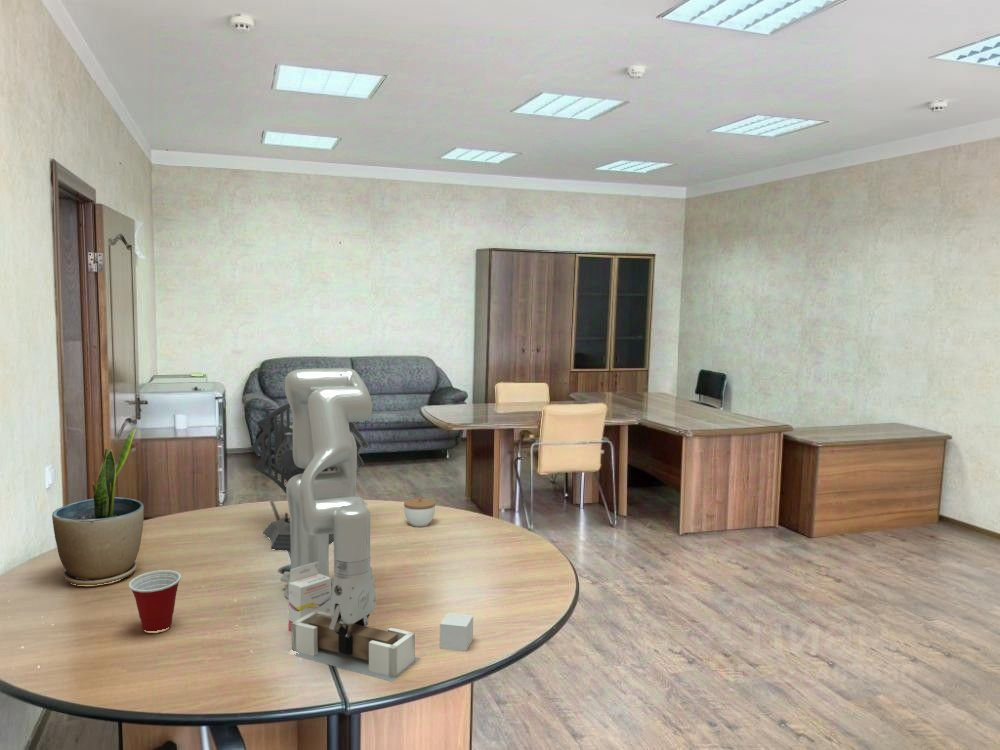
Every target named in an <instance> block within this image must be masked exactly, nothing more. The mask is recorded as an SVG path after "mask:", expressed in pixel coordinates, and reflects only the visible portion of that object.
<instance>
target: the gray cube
mask: <svg viewBox="0 0 1000 750" xmlns="http://www.w3.org/2000/svg"><path fill="white" fill-rule="evenodd" d="M473 640H474V615H472V614H471V615H470V614H461V613H454V612H453V613H452V612H447V613H446V614H445V616H444V618H442V620H441V622H440V623H439V649H444V650H451V651H453V650H454V651H463V652H467V651H468V648H469V647H470V645H471V643H472V642H473Z"/></svg>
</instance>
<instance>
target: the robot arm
mask: <svg viewBox="0 0 1000 750" xmlns="http://www.w3.org/2000/svg"><path fill="white" fill-rule="evenodd" d="M284 379H285V380H284V393H285V396H286V398H287V399H286V400H287V401H288V403H289V405H290V408H289V409H290V410H291V411H290V412H291V414H292V422H293V459H294V463H295V465H296V466H297V467H299V468H303V469H305V471H304V473H301V474H297V475H295V476H293V477H292V478H290V479H289V481H288V483H287V482H286V483H287V484H286V485H285V487H286V493H287V494H286V493H285V494H286V499H287V503H288V504H287V505H288V512H289V513H288V514H289V518H290V534H291V551H290V570H291V569H294V568H297V567H300V566H304V565H307V564H311V563H314V562H319V574H322V575H325V576H327V577H330V565H329V564H330V561H329V559H330V552H329V551H330V547H329V545H330V544H329V534H332V533H334V542H333V579H332V582H331V618H332V621H331V624H330V627H329V629H330V630H333V631H335V632H336V633H337V635H339V652H340V653H343V654H347V655H351V654H352V653H353V636H350V635H351V626H352V624H358V625H362V626H366V627H368V624H369V623H368V622H369V621H368V619H369V616H370V614H371V613H373V612H374V610H375V609H376V590H375V589H376V587H375V578H374V573H373V568H372V566H371V511H370V510H369V507H368V504H367V502H365V500H364V499H363V498H362V497H360V496H357V473H358V472H357V465H358V464H357V463H358V461H357V446H356V441H355V438H354V436H355V435H354V436H353V434H354V433H351V432H350V429H349V422H353V423H354V422H365V421H368V420H369V419H370V417H371V416H372V411H373V405H372V404H373V402H372V398H371V394H370V392H369V390H368V389H369V388H368V387H367V385H366V384H365V382H364V381H363V379H362V378H361V375H359V373H358V372H357V371H356V370H355V369H353V368H348V367H346V368H345V367H344V368H343V367H341V368H339V367H338V368H337V367H336V368H333V367H332V368H331V367H329V368H328V367H327V368H323V367H321V368H301V369H294V370H291V371H290V372H288V373H287V375H286V377H285V378H284ZM331 467H334V468H336V469H337V470H336V469H334V471H331V470H328V471H323V470H324V469H326V468H328V469H329V468H331ZM322 471H323V472H322ZM356 472H357V473H356ZM309 570H310V569H304V570H303V571H300V574H301V573H304V572H308V571H309ZM289 578H290V571H288V570H286V571H284V572H283V574H282V576H281V577H280V581H281V582H283V583H287V587H286V588H285V590H284V595H285V597H286V598H287V599H288V600H289ZM343 624H344V625H346V629H345V628H344V627H343Z"/></svg>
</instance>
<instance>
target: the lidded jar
mask: <svg viewBox="0 0 1000 750" xmlns="http://www.w3.org/2000/svg"><path fill="white" fill-rule="evenodd" d="M403 505H404V508H403V509H404V516H405V519H406V521H407V522H408V523H409V524H410V525H411V526H412V527H419V528H421V527H426V526H429V524H430V523H431V522H432V520H433V518H434V517H435V513H436V501H435V500H434V499H431V498H422V497H421V496H419V497H418V498H411V499H407V500H405V501H404V503H403Z"/></svg>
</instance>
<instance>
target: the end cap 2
mask: <svg viewBox="0 0 1000 750" xmlns="http://www.w3.org/2000/svg"><path fill="white" fill-rule="evenodd" d="M387 631H388V632H392V633H396V634H398V641H397V642H396V643H394V644H393V645H390V644H386V643H382V642H378V641H374V640H372V641H370V642H369V671H371V672H375V673H379V674H382V675H386V676H390V677H395V676H396V675H397V674H399V673H400V672H401V671H402V670H404V669H405V668H406V667H407V666H409V665H410V664H411V663H412V662H414V661H415V657H416V633H415V632H412V631H407V630H404V629H399V628H395V627H390V628H388V629H387Z"/></svg>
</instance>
